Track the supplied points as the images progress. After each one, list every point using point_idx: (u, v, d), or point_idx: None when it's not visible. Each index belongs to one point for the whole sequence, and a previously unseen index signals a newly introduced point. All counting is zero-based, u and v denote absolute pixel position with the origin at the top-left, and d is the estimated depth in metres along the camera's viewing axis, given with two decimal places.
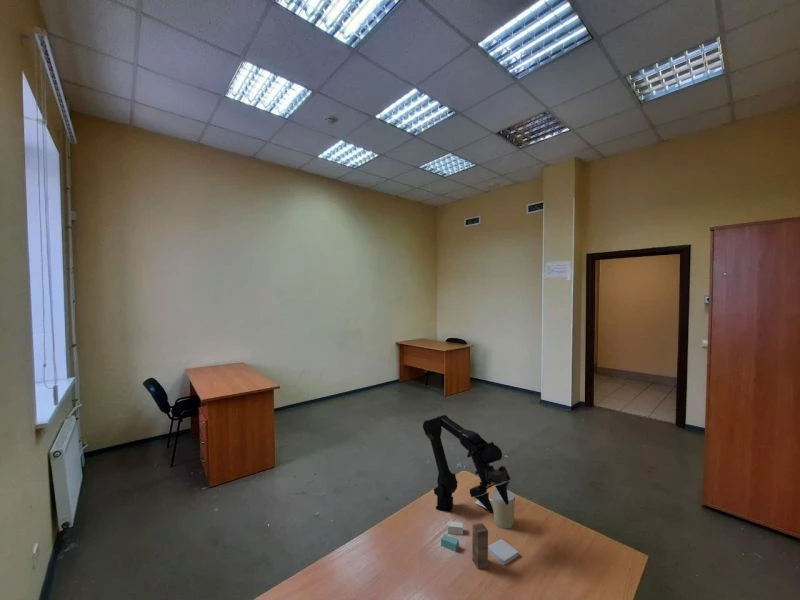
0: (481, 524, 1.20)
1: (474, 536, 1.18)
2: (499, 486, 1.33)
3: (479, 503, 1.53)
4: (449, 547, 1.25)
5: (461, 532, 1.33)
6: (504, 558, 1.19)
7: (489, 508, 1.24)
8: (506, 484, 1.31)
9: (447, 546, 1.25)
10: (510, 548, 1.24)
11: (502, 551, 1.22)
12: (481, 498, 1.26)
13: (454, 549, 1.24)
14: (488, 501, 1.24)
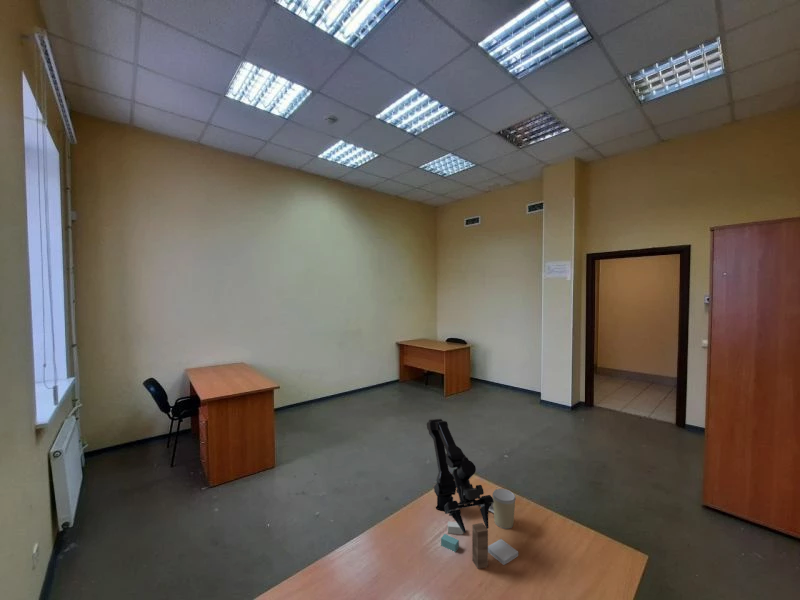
0: (481, 524, 1.20)
1: (474, 536, 1.18)
2: (481, 509, 1.27)
3: None
4: (449, 547, 1.25)
5: (461, 532, 1.33)
6: (504, 558, 1.19)
7: (461, 527, 1.21)
8: (486, 506, 1.25)
9: (447, 546, 1.26)
10: (510, 548, 1.24)
11: (502, 551, 1.22)
12: (455, 516, 1.24)
13: (454, 549, 1.24)
14: (460, 519, 1.22)
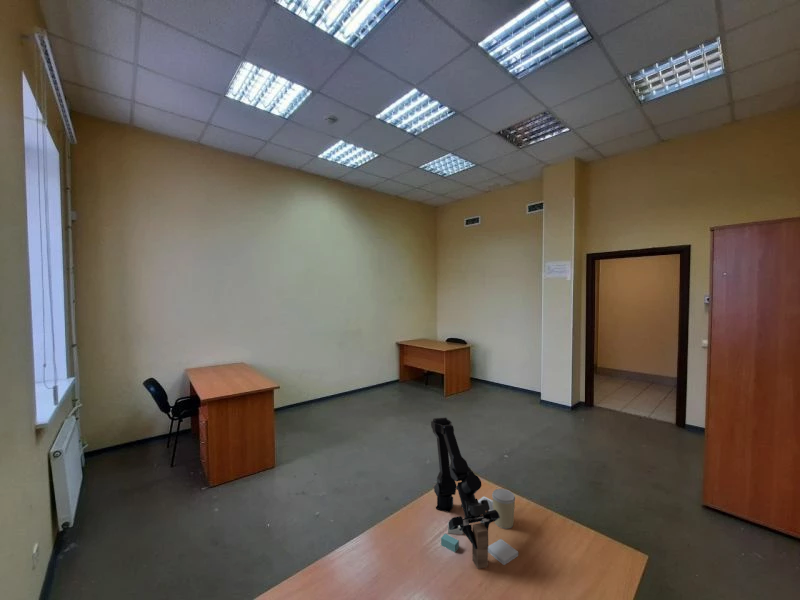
0: (481, 524, 1.20)
1: (474, 536, 1.18)
2: None
3: None
4: (449, 547, 1.25)
5: (461, 532, 1.33)
6: (505, 558, 1.19)
7: (472, 543, 1.17)
8: (486, 523, 1.21)
9: (447, 546, 1.26)
10: (510, 548, 1.24)
11: (502, 551, 1.22)
12: (466, 531, 1.21)
13: (453, 549, 1.24)
14: (471, 534, 1.18)
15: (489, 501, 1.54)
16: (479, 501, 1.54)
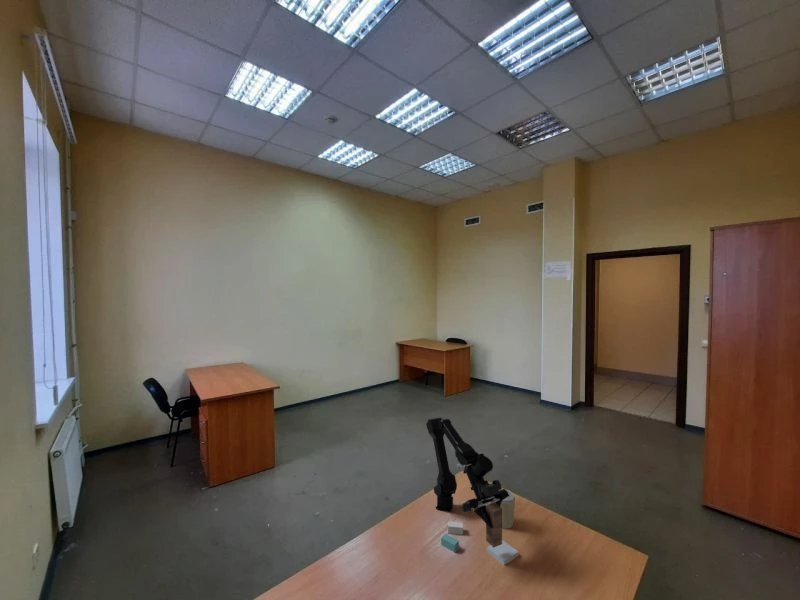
0: (494, 504, 1.22)
1: (489, 516, 1.20)
2: None
3: None
4: (448, 547, 1.25)
5: (461, 532, 1.33)
6: (505, 558, 1.19)
7: (488, 522, 1.19)
8: (498, 502, 1.24)
9: (447, 546, 1.26)
10: (510, 548, 1.24)
11: (502, 551, 1.22)
12: (480, 512, 1.22)
13: (453, 549, 1.24)
14: (486, 515, 1.20)
15: None
16: None
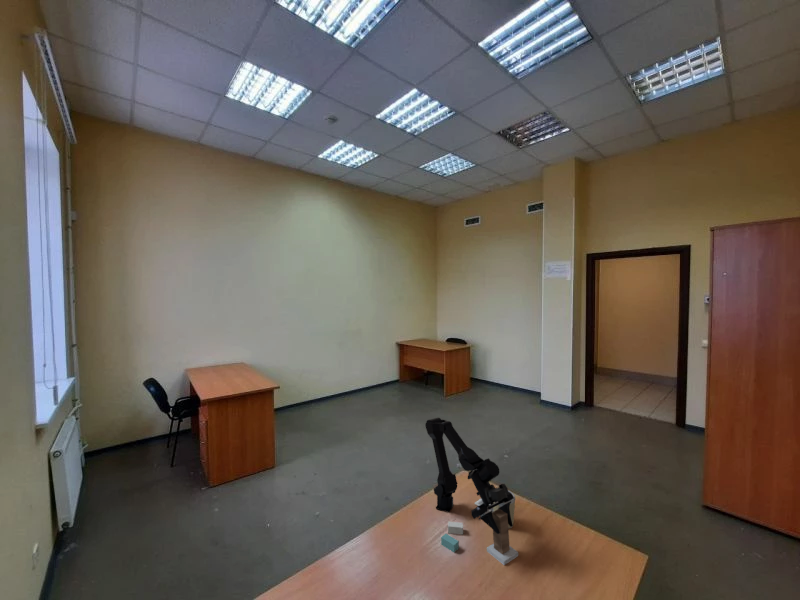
0: (499, 510, 1.26)
1: None
2: (501, 508, 1.28)
3: (478, 504, 1.52)
4: (448, 547, 1.25)
5: (461, 532, 1.33)
6: (505, 559, 1.19)
7: (494, 528, 1.21)
8: (508, 504, 1.27)
9: (447, 546, 1.26)
10: (510, 548, 1.24)
11: None
12: (485, 518, 1.23)
13: (452, 549, 1.24)
14: (492, 520, 1.21)
15: None
16: (479, 501, 1.54)
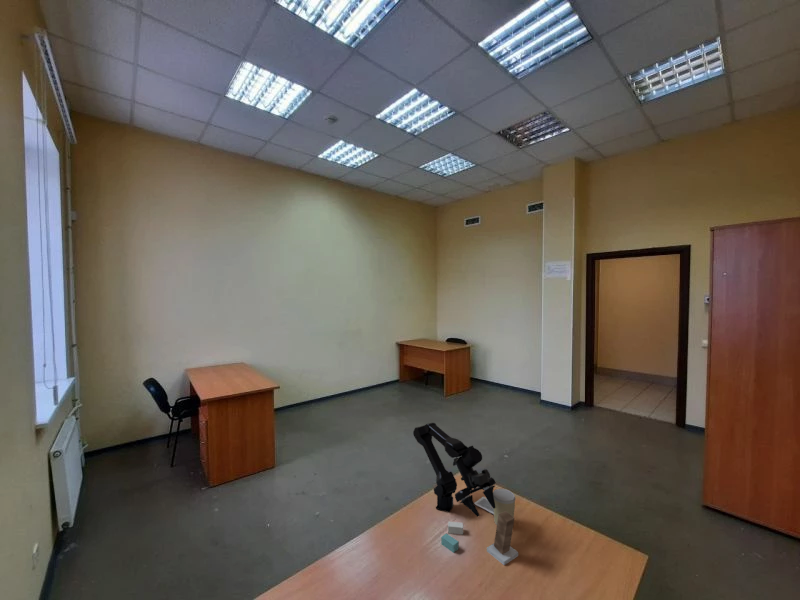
0: (506, 512, 1.24)
1: (500, 525, 1.22)
2: (486, 491, 1.37)
3: (478, 504, 1.52)
4: (448, 547, 1.25)
5: (461, 532, 1.33)
6: (505, 559, 1.19)
7: (474, 511, 1.28)
8: (491, 488, 1.35)
9: (446, 546, 1.26)
10: (510, 548, 1.24)
11: None
12: (466, 502, 1.30)
13: (452, 550, 1.24)
14: (473, 504, 1.28)
15: (488, 501, 1.54)
16: (478, 501, 1.54)
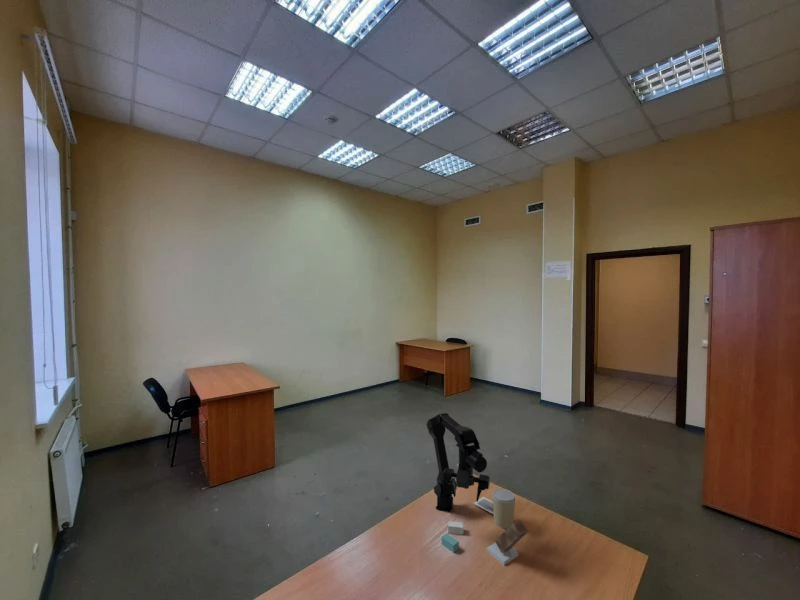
0: (520, 522, 1.20)
1: (511, 531, 1.19)
2: None
3: (478, 504, 1.52)
4: (448, 547, 1.25)
5: (461, 532, 1.33)
6: (505, 559, 1.19)
7: None
8: (479, 489, 1.31)
9: (446, 546, 1.26)
10: None
11: None
12: None
13: (452, 550, 1.24)
14: (452, 487, 1.36)
15: (488, 502, 1.54)
16: (478, 502, 1.54)
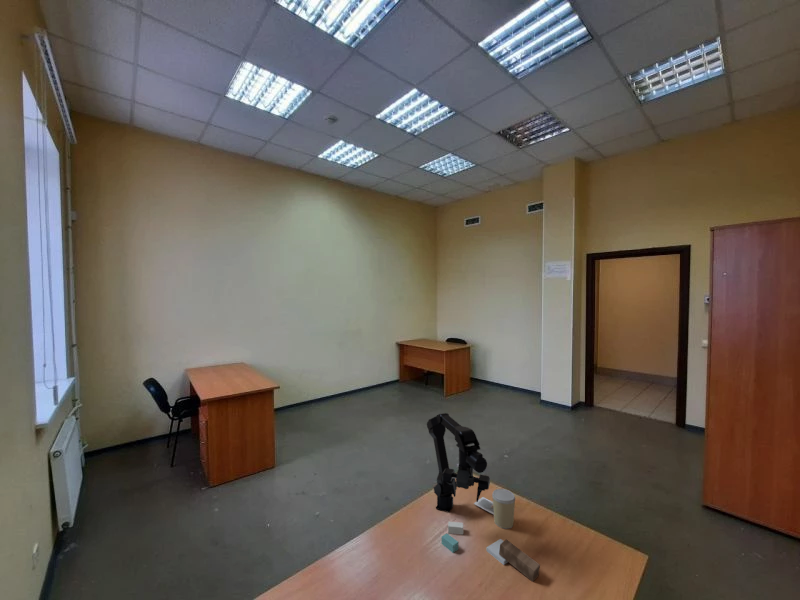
0: (538, 567, 1.12)
1: (524, 568, 1.13)
2: None
3: (477, 504, 1.52)
4: (448, 547, 1.25)
5: (461, 532, 1.33)
6: (504, 559, 1.19)
7: None
8: (479, 489, 1.31)
9: (446, 546, 1.26)
10: None
11: None
12: None
13: (452, 550, 1.24)
14: (452, 487, 1.36)
15: (488, 502, 1.54)
16: (478, 502, 1.54)
